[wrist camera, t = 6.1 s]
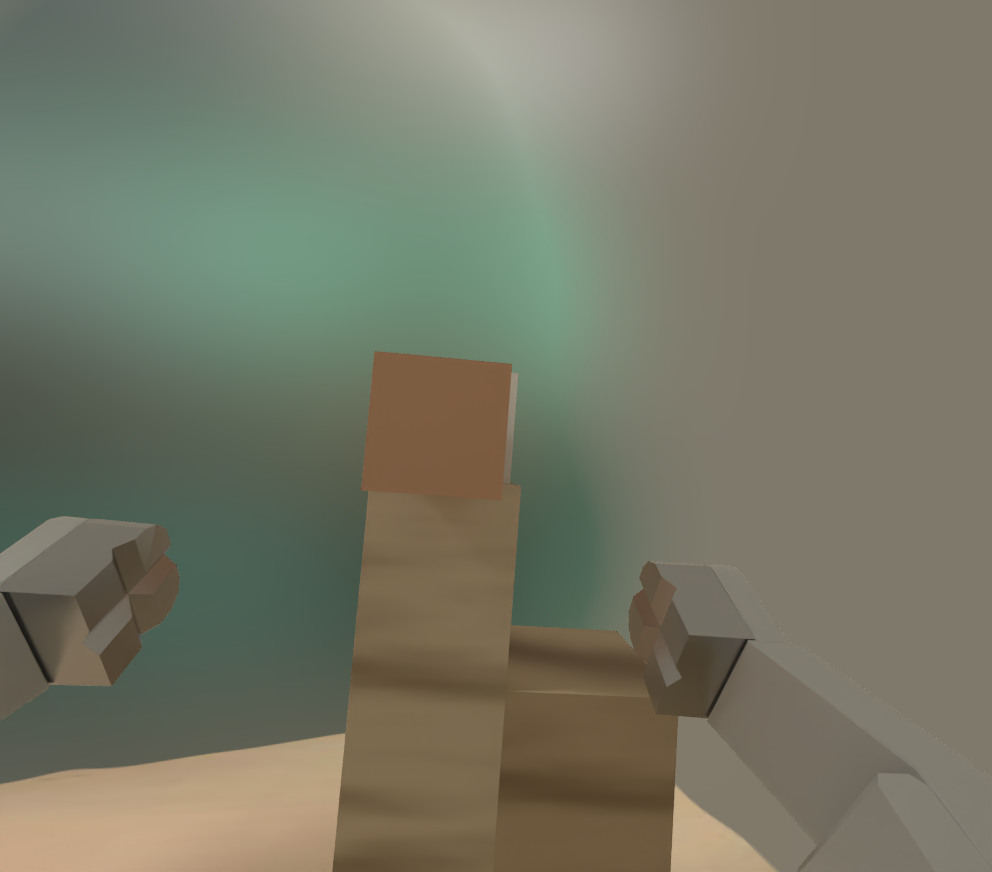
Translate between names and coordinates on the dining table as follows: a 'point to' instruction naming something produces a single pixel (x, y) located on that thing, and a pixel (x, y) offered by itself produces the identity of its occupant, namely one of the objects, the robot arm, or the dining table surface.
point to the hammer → (439, 426)
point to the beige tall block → (489, 714)
